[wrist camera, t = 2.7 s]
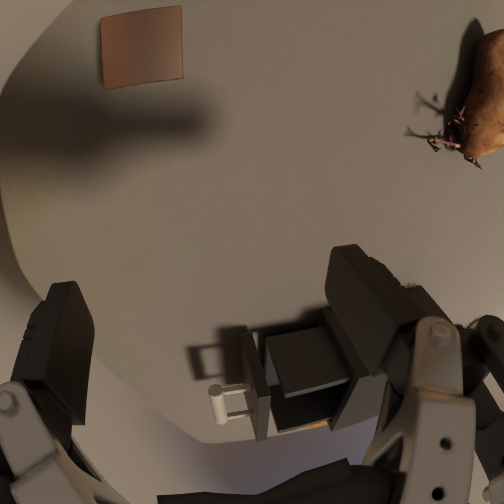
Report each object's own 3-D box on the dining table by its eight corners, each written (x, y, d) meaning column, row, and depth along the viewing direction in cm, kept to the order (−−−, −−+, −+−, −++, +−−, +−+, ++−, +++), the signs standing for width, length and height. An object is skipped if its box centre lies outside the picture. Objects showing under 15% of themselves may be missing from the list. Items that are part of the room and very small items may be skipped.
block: (118, 86, 17) (103, 90, 13) (115, 27, 15) (100, 17, 11) (182, 77, 18) (183, 78, 14) (181, 18, 15) (181, 5, 12)
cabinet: (306, 372, 40) (331, 431, 32) (321, 308, 33) (358, 379, 25) (393, 347, 43) (423, 395, 35) (421, 285, 36) (464, 337, 28)
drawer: (210, 394, 37) (221, 448, 30) (199, 339, 30) (209, 406, 24) (338, 368, 40) (360, 413, 34) (358, 310, 34) (390, 362, 27)
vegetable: (450, -18, 13) (560, 26, 7) (473, 27, 19) (551, 63, 14) (412, 141, 22) (515, 202, 16) (441, 146, 28) (514, 189, 23)
